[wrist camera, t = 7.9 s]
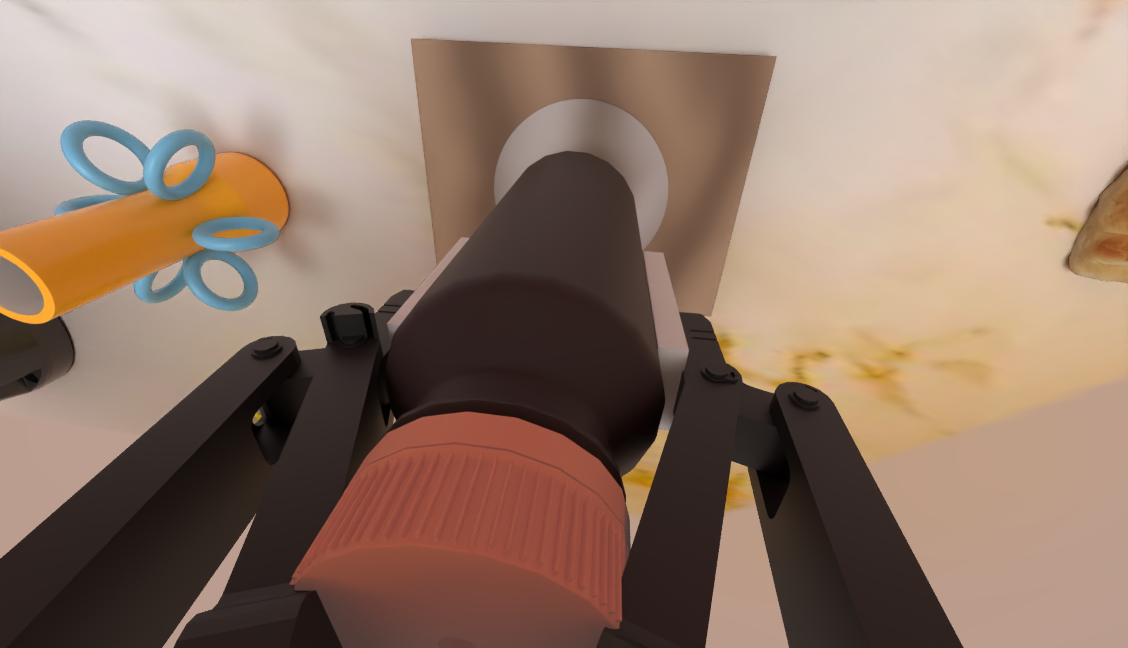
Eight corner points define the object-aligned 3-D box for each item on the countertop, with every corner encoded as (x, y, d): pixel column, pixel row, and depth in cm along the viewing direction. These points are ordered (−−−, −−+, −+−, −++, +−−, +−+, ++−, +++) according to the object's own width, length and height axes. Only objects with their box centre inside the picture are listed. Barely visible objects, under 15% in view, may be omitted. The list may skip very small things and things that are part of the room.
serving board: (446, 284, 34) (438, 295, 32) (420, 39, 26) (407, 38, 24) (707, 306, 33) (712, 318, 31) (768, 56, 24) (779, 56, 23)
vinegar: (636, 272, 24) (689, 757, 7) (518, 277, 25) (321, 720, 8) (637, 144, 21) (740, 494, 4) (500, 153, 22) (101, 476, 5)
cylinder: (358, 241, 33) (195, 356, 20) (261, 288, 36) (66, 414, 23) (237, 71, 28) (-90, 79, 15) (135, 144, 31) (-208, 202, 18)
